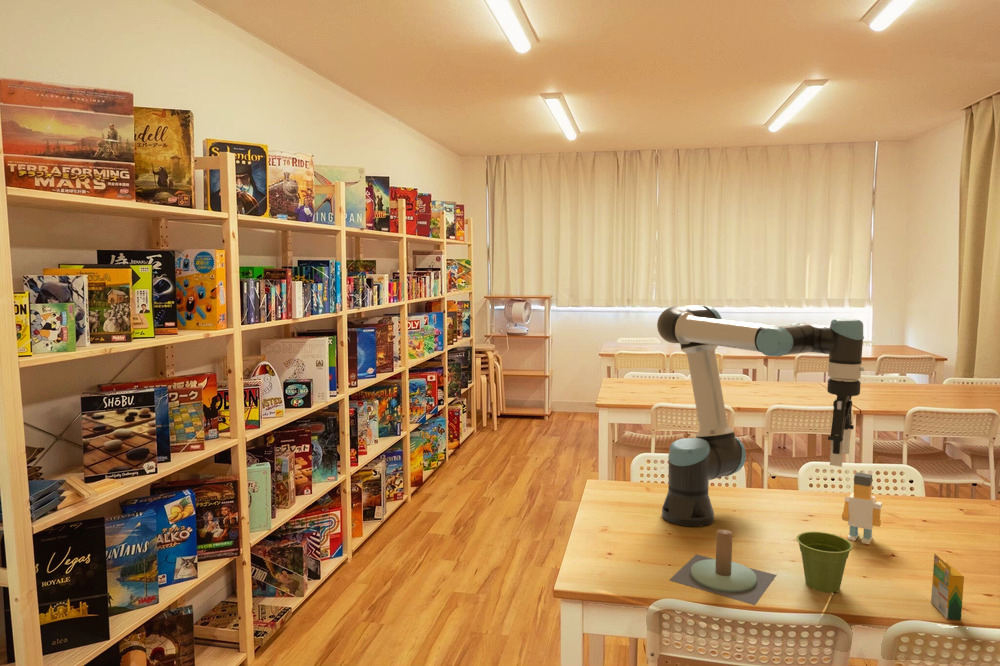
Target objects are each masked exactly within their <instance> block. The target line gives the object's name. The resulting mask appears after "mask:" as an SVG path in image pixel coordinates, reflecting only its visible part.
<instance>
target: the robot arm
mask: <svg viewBox="0 0 1000 666" xmlns="http://www.w3.org/2000/svg"><path fill="white" fill-rule="evenodd" d="M656 327H657V331H658V334H659V336H660V337H661V338H662V340H664V341H666V342H668V343H671V344H680V350H681V351H682V352H683V353H685V354H686V357H687V361H688V362H687V363H688V367H689V374H690V379H691V385H692V392H693V398H694V403H695V404H694V405H695V409H696V415H697V419H698V420H697V422H698V427H699V430H698V431H697V433H696V434H695V437H687V438H686V437H683V438H679V439H677V440H674V441H673V442H672V443H671V444H670V445H669V449H668V450H669V453H668V456H667V457H668V480H667V481H668V482H667V483H668V484H667V485H668V490H667V493H666V496H665V499H664V501H663V502H664V503H663V505H662V507H661V516H662V518H663V519H664V520H665V521H666V522H668V523H671V524H673V525H677V526H683V527H694V528H698V527H705V526H708V525H711V524H712V523H714V521H715V520H714V519H715V512H714V509H713V506H712V505H713V504H712V502H711V499H710V496H709V486H710V484H709V481H712V480H715V479H718V478H723V477H729V476H731V475H734V474H736V473H738V472H740V471H741V470H742V468H743V467H744V466H745V462H746V459H747V452H746V448H745V445H744V443H743V442H741V439H740V438H738V437H736V434H735V430H734V429H732V427H730V426H729V423H728V418H727V412H726V407H725V402H724V401H725V400H724V395H723V389H722V383H721V379H720V372H719V367H718V361H717V356H716V355H717V354H716V349H717V347H718V346H719V347H725V348H732V349H739V350H745V351H750V352H751V351H753V352H758V353H761V354H763V355H765V356H767V357H778V358H779V357H782V356H789V355H796V354H804V353H813V354H815V353H816V354H824V355H828V365H827V366H828V367H827V377H829V378H828V379H827V387H826V388H827V389H826V390H827V393H828V394H830V395H835V396H836V398H835V399H834V400H833V411H832V421H831V429H830V435H828V436H827V440H828V441H830V453H829V454H830V455H829V456H830V457H829V466H832V467H833V466H834V467H841V468H842V467H843V458H844V456H843V454H846V455H850V444H851V443H850V442H851V430H854V427H855V426H854V424H853V422H852V410H853V409H852V406H853V400H852V398H853V397H858V396H859V395H860V394H861V381H860V379H861V378H862V377H861V376H862V372H864V370H865V369H864V367H863V366H862V359H863V358H862V357H863V347H864V346H863V343H864V339H865V336H864V322H863V321H862V320H860V319H857V318H855V319H854V318H833V319H831V321H830V325H822V324H812V323H807V322H798V323H797V322H795V323H794V322H793V323H790V324H789V325H775V324H764V323H755V322H748V321H747V322H745V321H738V320H728V319H722V316H721V314H720V313H719V311H718V310H716V309H715V308H713V307H712V306H709V305H705V304H704V305H703V304H695V305H694V304H693V305H681V306H680V305H676V306H675V305H674V306H671V307H668V308H667V309H665V310H664V311H662V312H661V314H660V315H659V316H658V319H657V322H656ZM861 366H862V367H861Z"/></svg>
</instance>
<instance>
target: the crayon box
mask: <svg viewBox="0 0 1000 666" xmlns="http://www.w3.org/2000/svg"><path fill="white" fill-rule="evenodd" d="M933 554H934V556H933V569H932V571H933V572H932V583H931V584H932V585H931V586H932V587H931V597H930V604H932V605H933V606H934V608H936V609H937V611H939V612H940V614H942V616H943V617H944V618H945V619H946V620H954V621H955V620H956V621H961V620H962V608H963V598H964V597H963V596H964V581H965V576H964V575H962V573H960V572H959V571H958V570H957V569H955V567H953V566H952V565H951V564H950V563H949V562H948V561H947V562H946V561H944V560H943V559H942V558H941V557H940V556H938V555H937V553H933Z"/></svg>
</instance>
